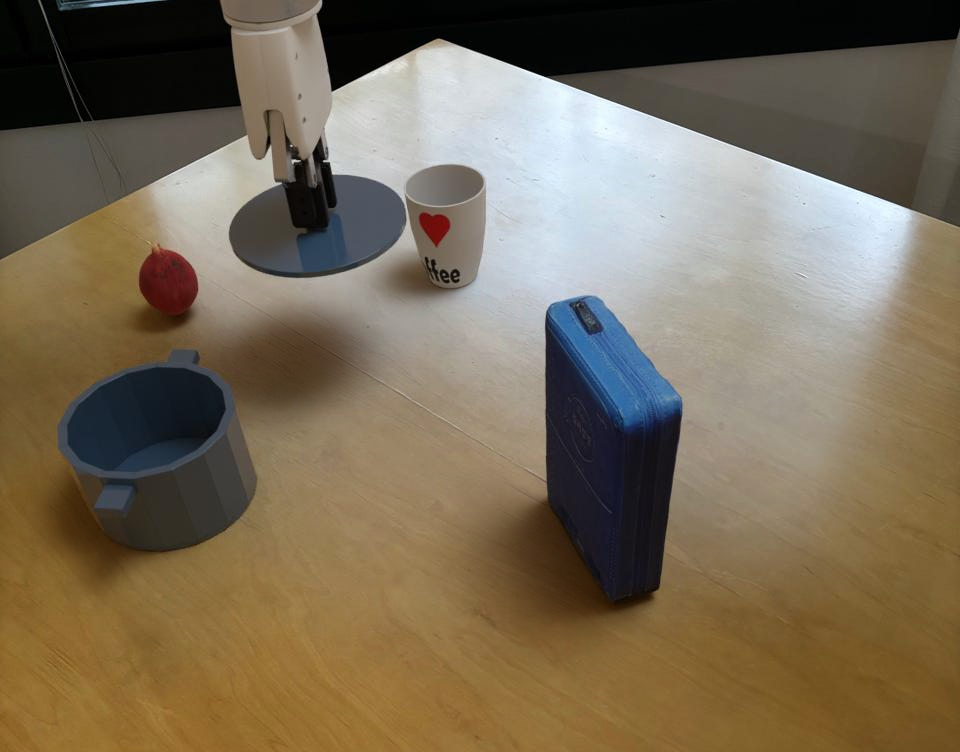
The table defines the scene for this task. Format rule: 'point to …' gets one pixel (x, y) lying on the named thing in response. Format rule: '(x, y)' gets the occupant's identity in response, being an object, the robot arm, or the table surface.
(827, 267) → the table surface
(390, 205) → the lid
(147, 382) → the pot
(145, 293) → the red pomegranate
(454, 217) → the cup
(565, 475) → the blue case
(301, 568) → the table surface
